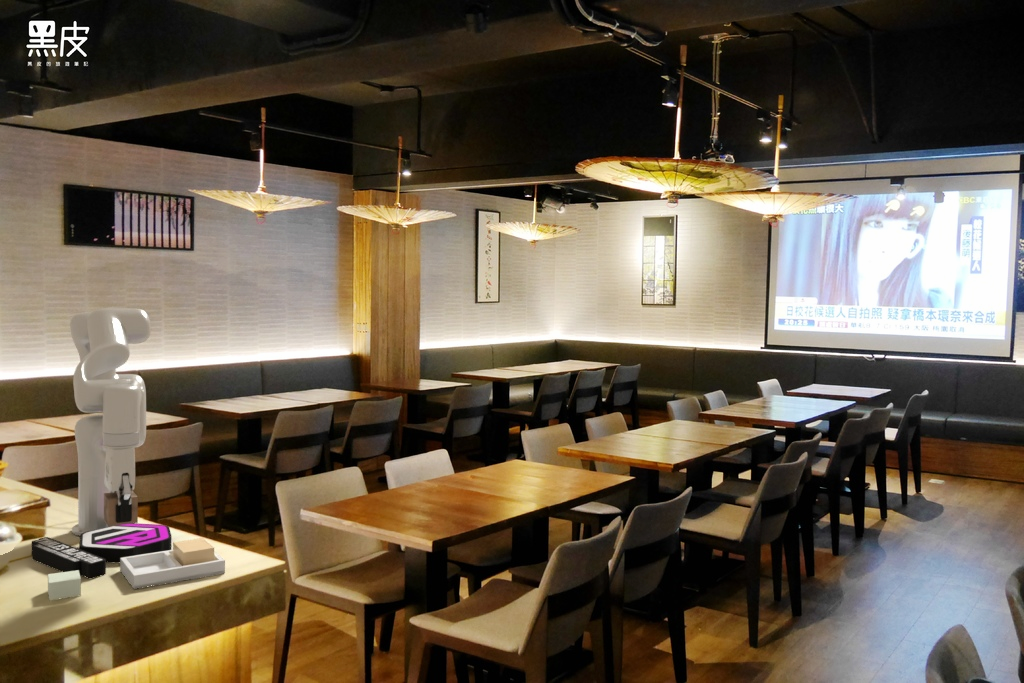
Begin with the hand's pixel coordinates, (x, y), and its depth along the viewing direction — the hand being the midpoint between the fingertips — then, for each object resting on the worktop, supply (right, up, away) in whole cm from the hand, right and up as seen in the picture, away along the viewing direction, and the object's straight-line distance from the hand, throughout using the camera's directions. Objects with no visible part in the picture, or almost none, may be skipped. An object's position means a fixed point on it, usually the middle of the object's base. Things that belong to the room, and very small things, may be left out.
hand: (120, 517), depth 187 cm
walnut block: (0, -1, 0) cm, 1 cm away
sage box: (-9, -15, -7) cm, 19 cm away
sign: (-12, -14, +21) cm, 28 cm away
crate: (+8, -15, +8) cm, 19 cm away
